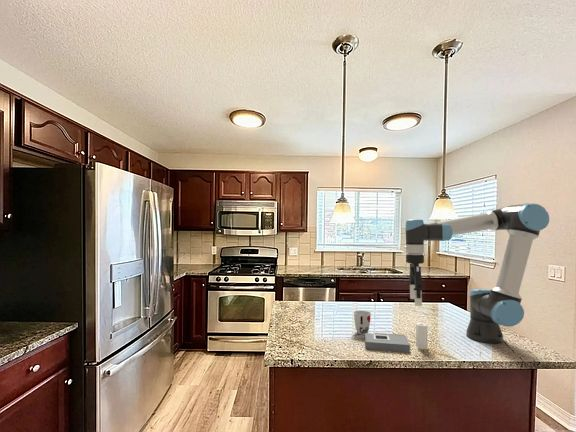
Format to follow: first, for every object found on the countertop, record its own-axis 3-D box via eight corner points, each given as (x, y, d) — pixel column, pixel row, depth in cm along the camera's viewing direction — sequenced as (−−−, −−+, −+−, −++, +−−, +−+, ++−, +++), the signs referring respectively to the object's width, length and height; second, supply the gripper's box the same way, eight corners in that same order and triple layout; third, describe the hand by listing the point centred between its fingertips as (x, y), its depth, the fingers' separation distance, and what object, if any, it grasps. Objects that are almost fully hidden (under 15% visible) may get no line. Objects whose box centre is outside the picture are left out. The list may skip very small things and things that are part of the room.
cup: (358, 336, 158) (358, 315, 159) (351, 331, 166) (351, 311, 167) (373, 334, 160) (373, 314, 161) (365, 329, 168) (365, 310, 169)
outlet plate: (405, 342, 150) (405, 335, 150) (409, 352, 138) (409, 344, 138) (365, 339, 153) (364, 332, 153) (365, 348, 142) (365, 341, 142)
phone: (404, 337, 159) (404, 334, 159) (407, 342, 152) (407, 339, 152) (374, 335, 162) (374, 332, 162) (375, 340, 155) (375, 337, 155)
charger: (425, 346, 145) (425, 323, 146) (427, 349, 141) (427, 325, 142) (416, 345, 146) (415, 322, 146) (417, 348, 142) (417, 325, 142)
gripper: (402, 252, 160) (403, 296, 159) (410, 256, 135) (410, 308, 134) (419, 252, 158) (419, 296, 157) (429, 256, 134) (430, 309, 133)
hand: (415, 302), depth 146 cm, fingers open, 13 cm apart
